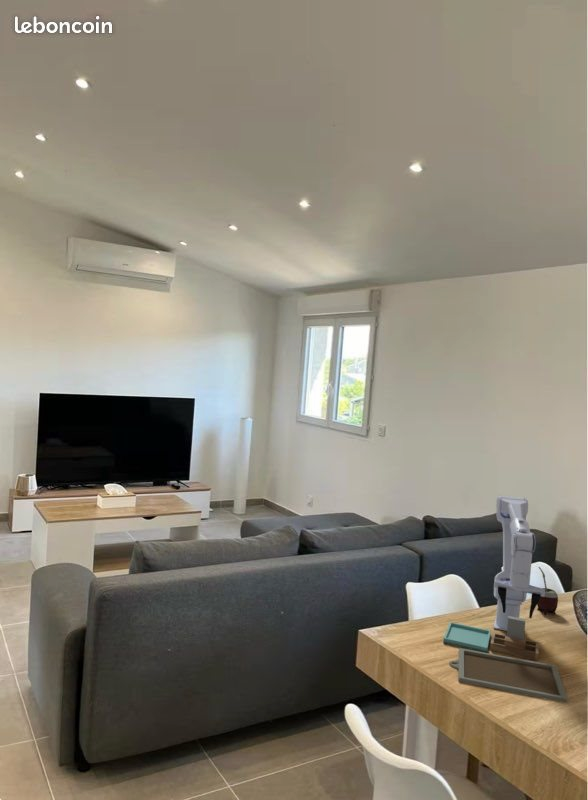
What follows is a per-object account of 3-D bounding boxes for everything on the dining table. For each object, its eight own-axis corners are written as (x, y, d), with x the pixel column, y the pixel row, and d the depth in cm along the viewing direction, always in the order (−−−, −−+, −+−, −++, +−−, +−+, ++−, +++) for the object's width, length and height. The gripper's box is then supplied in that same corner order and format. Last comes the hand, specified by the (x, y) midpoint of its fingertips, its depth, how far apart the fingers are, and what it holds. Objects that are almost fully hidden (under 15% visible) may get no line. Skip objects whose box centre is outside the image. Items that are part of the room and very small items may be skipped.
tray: (449, 626, 197) (450, 621, 197) (490, 635, 192) (491, 630, 192) (443, 642, 184) (443, 638, 184) (486, 652, 179) (487, 647, 179)
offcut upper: (504, 642, 184) (505, 636, 184) (525, 647, 181) (525, 640, 181) (503, 646, 181) (504, 640, 181) (524, 651, 179) (525, 644, 178)
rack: (492, 639, 189) (492, 632, 189) (538, 649, 184) (538, 642, 184) (490, 650, 182) (490, 643, 181) (537, 660, 176) (538, 653, 176)
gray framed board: (567, 698, 153) (448, 675, 162) (567, 705, 154) (448, 681, 162) (556, 665, 172) (449, 646, 180) (556, 670, 172) (449, 651, 180)
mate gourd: (555, 617, 211) (558, 576, 211) (531, 611, 215) (535, 571, 215) (558, 611, 218) (561, 571, 217) (535, 605, 222) (538, 566, 221)
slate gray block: (506, 643, 187) (508, 615, 186) (523, 647, 185) (525, 619, 185) (505, 646, 185) (508, 618, 185) (523, 650, 183) (525, 621, 183)
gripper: (495, 570, 183) (491, 613, 184) (546, 579, 177) (542, 624, 178) (496, 564, 190) (493, 606, 190) (545, 572, 184) (542, 615, 184)
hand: (517, 614), depth 184 cm, fingers open, 7 cm apart
